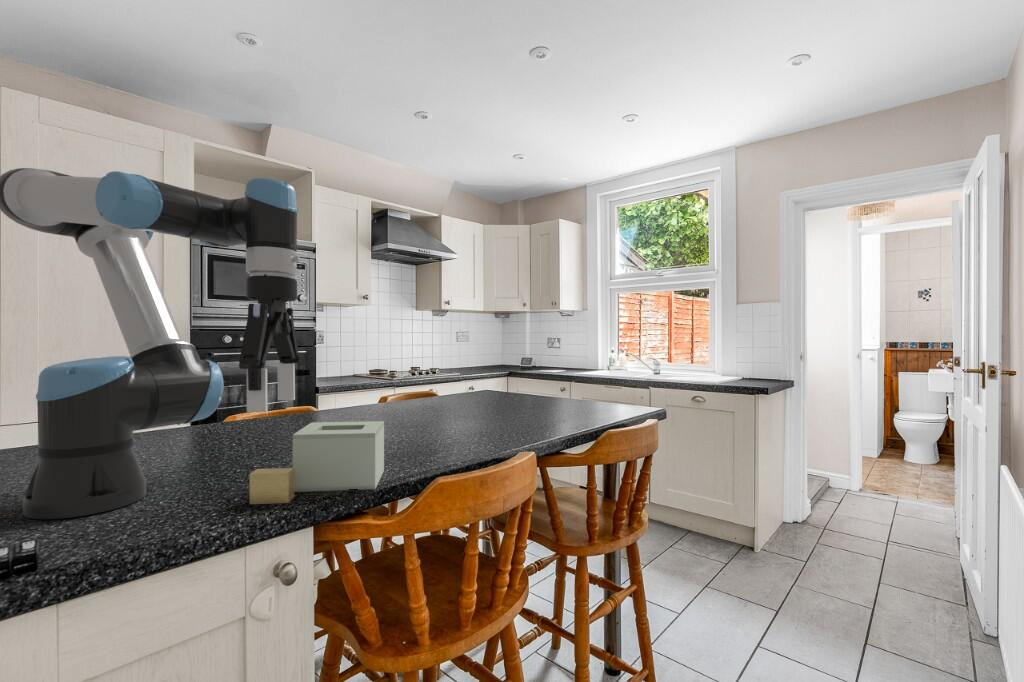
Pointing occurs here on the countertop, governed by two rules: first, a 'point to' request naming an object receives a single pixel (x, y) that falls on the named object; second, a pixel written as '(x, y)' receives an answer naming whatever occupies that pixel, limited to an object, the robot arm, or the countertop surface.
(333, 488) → the coin box
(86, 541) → the countertop surface
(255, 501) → the block
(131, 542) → the countertop surface
